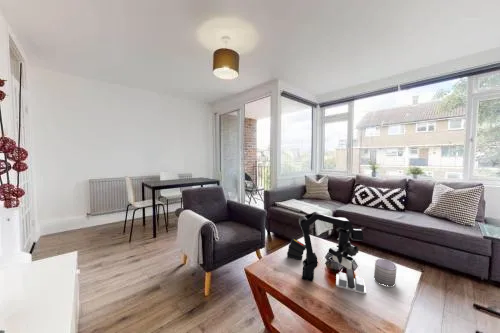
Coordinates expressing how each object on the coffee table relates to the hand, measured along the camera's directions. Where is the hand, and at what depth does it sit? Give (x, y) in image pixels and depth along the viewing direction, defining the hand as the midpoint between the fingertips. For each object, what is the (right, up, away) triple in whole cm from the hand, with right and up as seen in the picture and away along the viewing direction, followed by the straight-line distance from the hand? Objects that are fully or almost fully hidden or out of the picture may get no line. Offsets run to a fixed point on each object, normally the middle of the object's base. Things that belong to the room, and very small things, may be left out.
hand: (341, 262), depth 127 cm
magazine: (-23, -9, +25) cm, 35 cm away
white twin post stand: (+4, -12, -3) cm, 13 cm away
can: (+28, -13, +1) cm, 31 cm away
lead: (+5, -11, -1) cm, 12 cm away
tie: (0, -1, 0) cm, 1 cm away
